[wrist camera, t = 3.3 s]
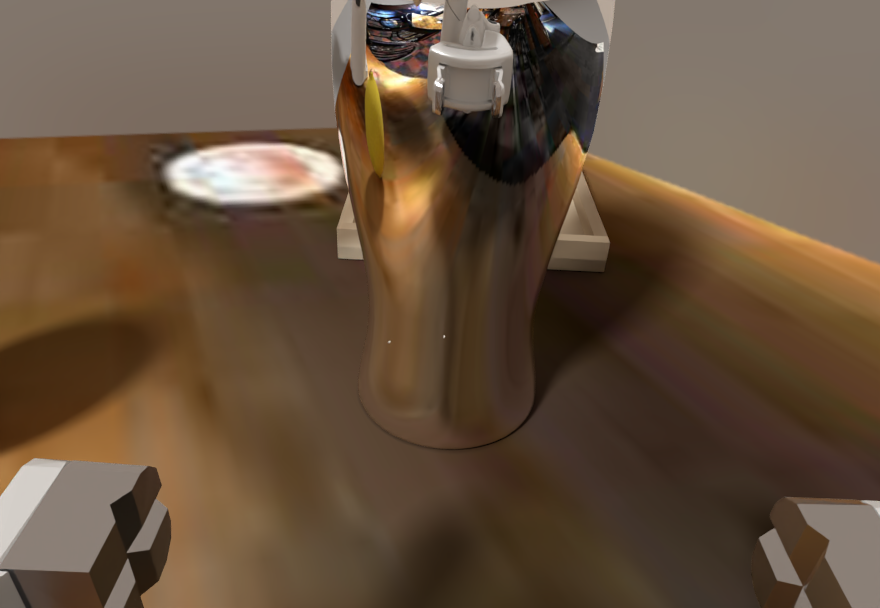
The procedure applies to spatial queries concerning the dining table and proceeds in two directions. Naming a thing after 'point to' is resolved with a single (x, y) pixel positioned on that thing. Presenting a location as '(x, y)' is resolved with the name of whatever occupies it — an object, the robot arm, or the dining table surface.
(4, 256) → the dining table surface
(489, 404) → the beer glass
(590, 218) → the tray
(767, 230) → the dining table surface
